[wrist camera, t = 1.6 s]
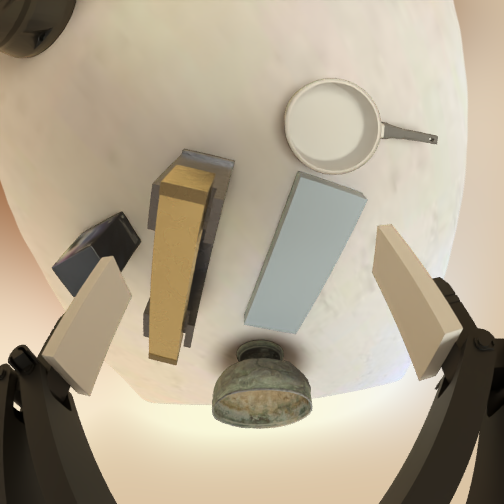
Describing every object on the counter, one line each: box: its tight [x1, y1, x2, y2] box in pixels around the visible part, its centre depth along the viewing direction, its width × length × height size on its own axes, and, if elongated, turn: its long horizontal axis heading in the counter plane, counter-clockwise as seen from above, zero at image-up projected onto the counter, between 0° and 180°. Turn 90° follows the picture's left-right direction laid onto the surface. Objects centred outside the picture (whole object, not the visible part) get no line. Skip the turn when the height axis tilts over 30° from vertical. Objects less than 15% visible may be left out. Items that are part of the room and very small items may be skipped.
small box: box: [52, 212, 141, 297], centre depth 38 cm, size 11×6×10 cm, turn 112°
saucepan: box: [284, 78, 438, 175], centre depth 30 cm, size 12×20×6 cm, turn 92°
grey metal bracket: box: [143, 149, 235, 348], centre depth 36 cm, size 7×24×12 cm, turn 164°
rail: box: [149, 165, 216, 365], centre depth 31 cm, size 4×26×5 cm, turn 164°
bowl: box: [212, 340, 312, 429], centre depth 52 cm, size 20×19×15 cm
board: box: [244, 171, 367, 334], centre depth 44 cm, size 10×28×2 cm, turn 164°
